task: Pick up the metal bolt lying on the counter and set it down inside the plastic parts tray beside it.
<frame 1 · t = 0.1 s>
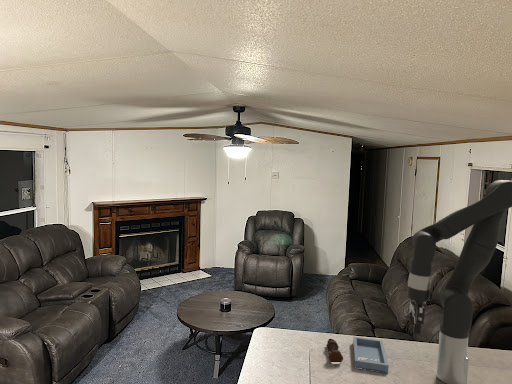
hand: (414, 328, 138), 17 cm above the kitchen counter, tool pointing down, fingers open, 8 cm apart
bolt: (333, 355, 151), on the kitchen counter
parts tray: (369, 357, 150), on the kitchen counter
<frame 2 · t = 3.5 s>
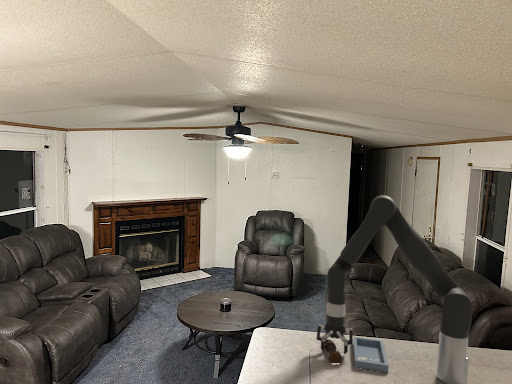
hand: (333, 351, 151), 1 cm above the kitchen counter, tool pointing down, fingers open, 8 cm apart
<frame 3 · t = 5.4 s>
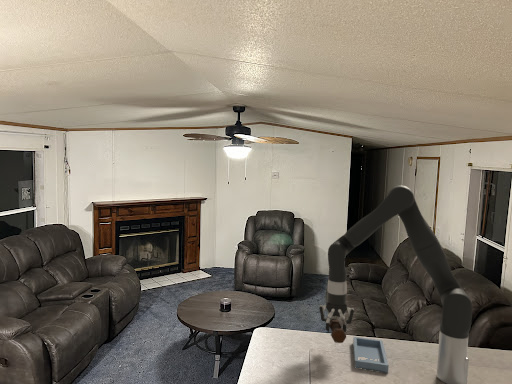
hand: (335, 331, 151), 10 cm above the kitchen counter, tool pointing down, fingers closed on bolt, 5 cm apart
bolt: (336, 335, 150), point 9 cm above the kitchen counter, touching gripper
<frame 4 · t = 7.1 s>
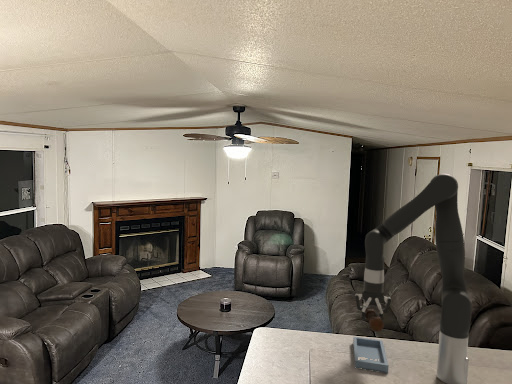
hand: (371, 320, 149), 15 cm above the kitchen counter, tool pointing down, fingers closed on bolt, 5 cm apart
bolt: (372, 323, 149), point 14 cm above the kitchen counter, touching gripper
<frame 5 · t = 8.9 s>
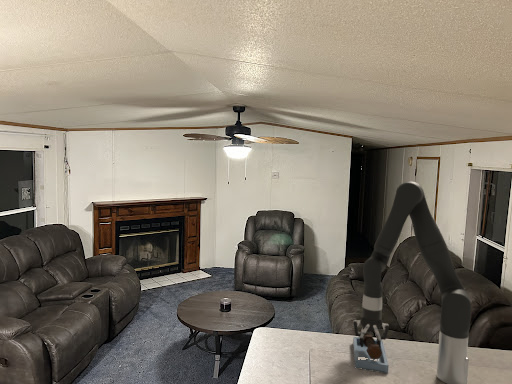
hand: (369, 347, 150), 4 cm above the kitchen counter, tool pointing down, fingers closed on bolt, 5 cm apart
bolt: (370, 350, 149), point 3 cm above the kitchen counter, touching gripper
when the fingers open (3 cm above the kitchen counter, at t = 10.1 s): bolt drops 2 cm, resting on parts tray.
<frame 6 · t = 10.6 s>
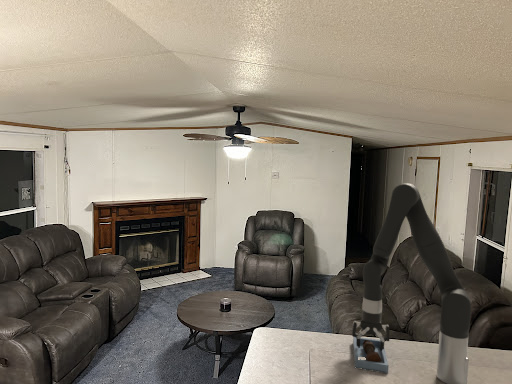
hand: (369, 348, 150), 4 cm above the kitchen counter, tool pointing down, fingers open, 8 cm apart
bolt: (370, 357, 149), resting on parts tray
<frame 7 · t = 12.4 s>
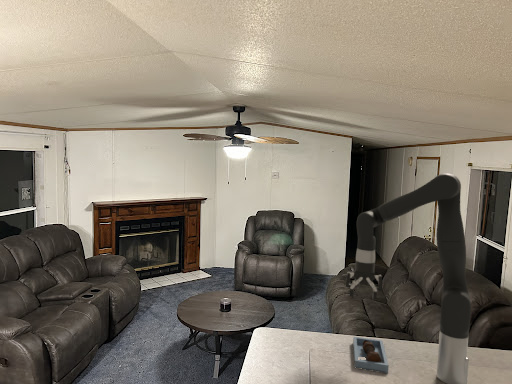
hand: (362, 298, 154), 22 cm above the kitchen counter, tool pointing down, fingers open, 8 cm apart
nothing on the kitchen counter moved.
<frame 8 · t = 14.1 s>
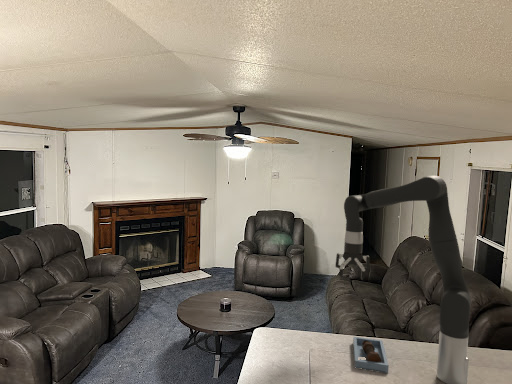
hand: (351, 278, 162), 28 cm above the kitchen counter, tool pointing down, fingers open, 8 cm apart
nothing on the kitchen counter moved.
at the end: bolt inside the target area on the parts tray (1.1 cm from its centre), point 0.4 cm above the parts tray's base; the gripper is holding nothing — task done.
